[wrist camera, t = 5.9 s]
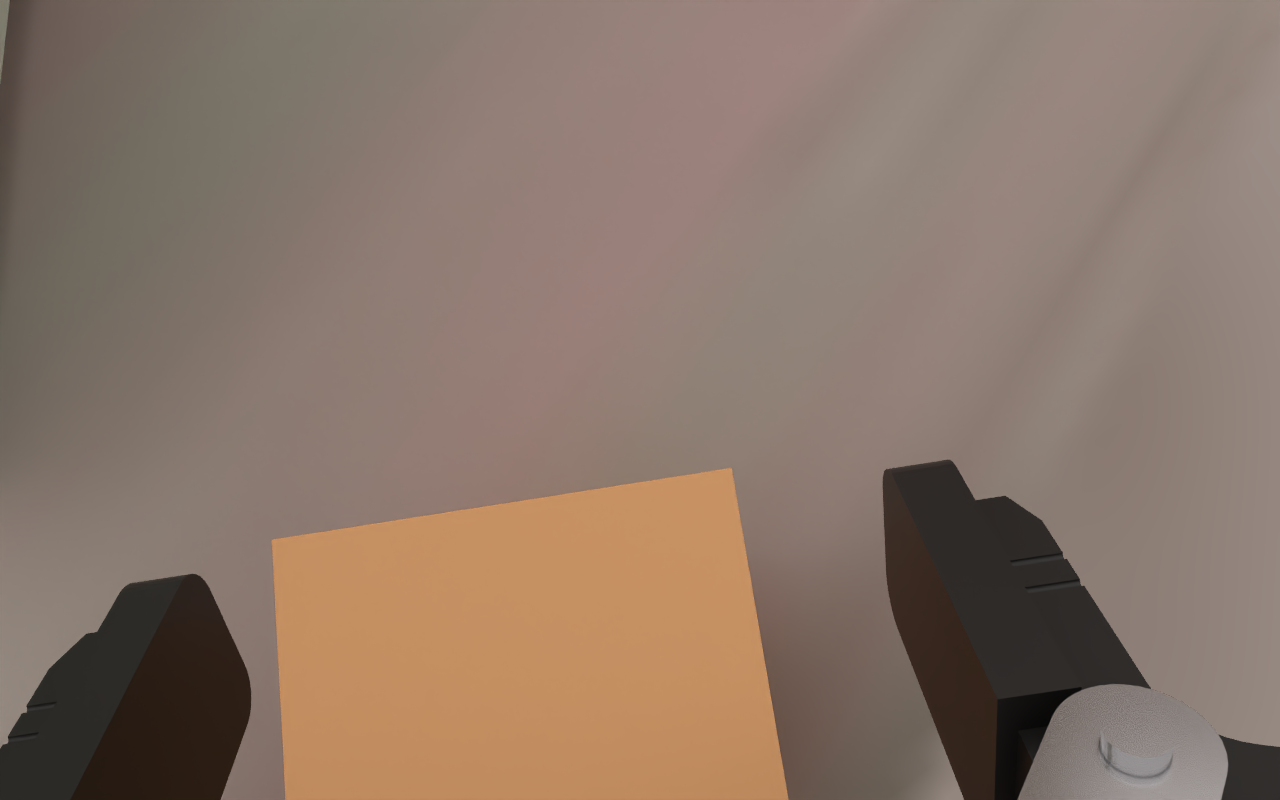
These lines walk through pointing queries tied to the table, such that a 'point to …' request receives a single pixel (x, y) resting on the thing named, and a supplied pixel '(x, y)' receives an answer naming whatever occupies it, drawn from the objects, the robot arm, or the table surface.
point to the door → (3, 28)
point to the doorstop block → (529, 652)
